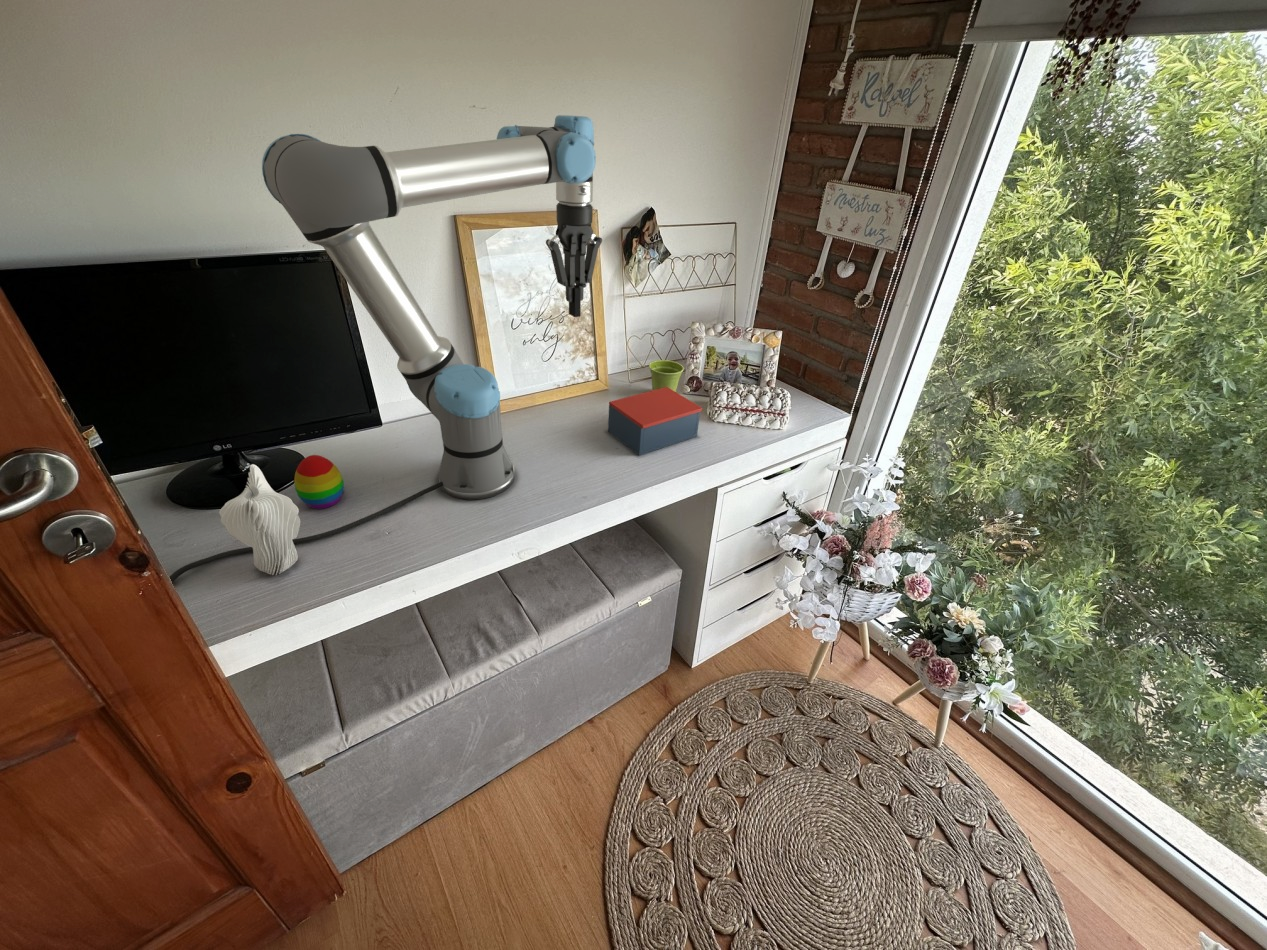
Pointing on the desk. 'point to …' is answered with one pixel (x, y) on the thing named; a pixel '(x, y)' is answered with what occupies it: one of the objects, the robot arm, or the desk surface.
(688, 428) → the box
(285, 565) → the shell sculpture
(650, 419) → the lid
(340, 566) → the desk surface
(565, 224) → the robot arm
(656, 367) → the plant pot
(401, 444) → the desk surface
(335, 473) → the decorative egg
